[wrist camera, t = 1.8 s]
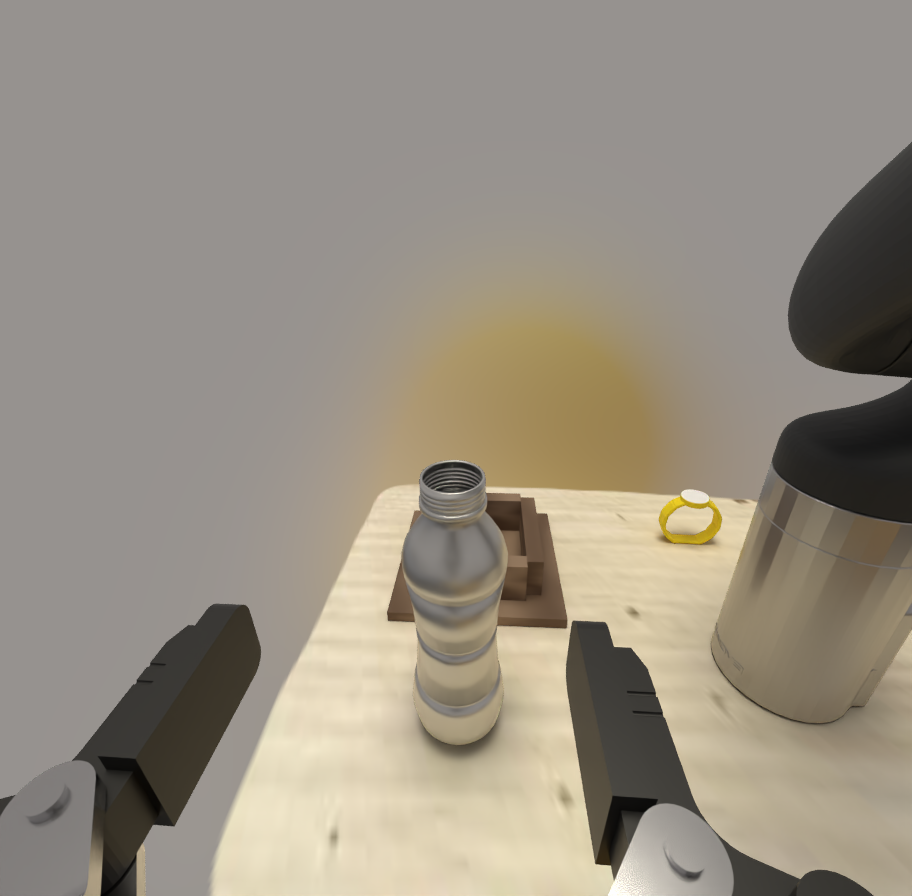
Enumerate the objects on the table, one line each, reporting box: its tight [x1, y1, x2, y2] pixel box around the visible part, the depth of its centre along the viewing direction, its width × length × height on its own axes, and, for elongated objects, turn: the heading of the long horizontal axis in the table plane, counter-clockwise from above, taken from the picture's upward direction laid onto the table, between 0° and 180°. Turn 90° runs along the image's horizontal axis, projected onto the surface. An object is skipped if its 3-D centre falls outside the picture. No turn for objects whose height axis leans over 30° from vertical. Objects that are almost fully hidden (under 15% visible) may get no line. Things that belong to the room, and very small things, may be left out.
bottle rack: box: [387, 493, 567, 628], centre depth 46 cm, size 16×16×5 cm
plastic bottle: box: [401, 460, 508, 745], centre depth 28 cm, size 6×7×20 cm
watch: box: [659, 490, 722, 544], centre depth 48 cm, size 6×3×6 cm, turn 83°
